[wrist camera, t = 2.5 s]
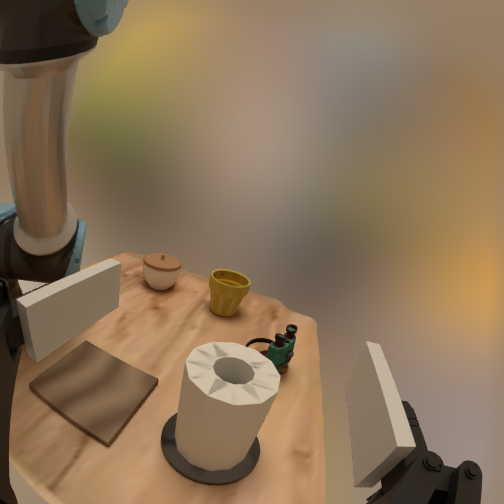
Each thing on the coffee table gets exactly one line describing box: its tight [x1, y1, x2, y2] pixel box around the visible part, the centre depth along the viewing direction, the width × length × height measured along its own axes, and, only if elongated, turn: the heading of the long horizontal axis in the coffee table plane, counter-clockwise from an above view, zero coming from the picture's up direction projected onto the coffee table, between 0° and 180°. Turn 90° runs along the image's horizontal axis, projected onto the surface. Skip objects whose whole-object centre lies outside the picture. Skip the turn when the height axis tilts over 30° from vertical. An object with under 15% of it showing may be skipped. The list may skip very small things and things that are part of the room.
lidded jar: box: [143, 253, 181, 290], centre depth 74 cm, size 11×11×9 cm
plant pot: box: [209, 269, 251, 317], centre depth 70 cm, size 10×10×10 cm
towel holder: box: [161, 382, 260, 485], centre depth 30 cm, size 14×14×13 cm
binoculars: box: [246, 324, 298, 373], centre depth 52 cm, size 9×11×10 cm
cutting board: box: [29, 341, 158, 447], centre depth 34 cm, size 16×16×1 cm
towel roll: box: [175, 342, 281, 471], centre depth 29 cm, size 10×10×15 cm
